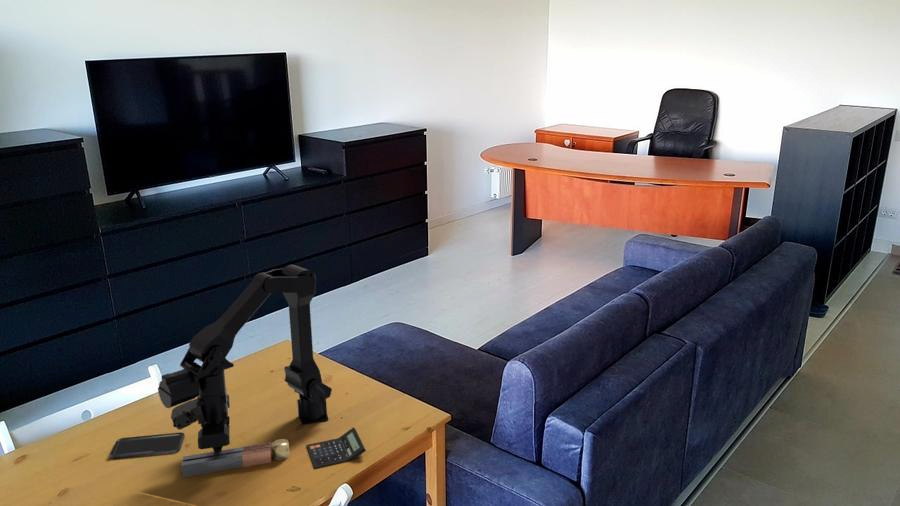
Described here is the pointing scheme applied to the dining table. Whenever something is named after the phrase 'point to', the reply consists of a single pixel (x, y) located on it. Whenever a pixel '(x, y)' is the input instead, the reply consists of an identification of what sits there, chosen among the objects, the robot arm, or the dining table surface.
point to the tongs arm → (277, 450)
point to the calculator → (336, 450)
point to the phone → (147, 445)
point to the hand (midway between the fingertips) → (217, 453)
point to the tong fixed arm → (226, 462)
